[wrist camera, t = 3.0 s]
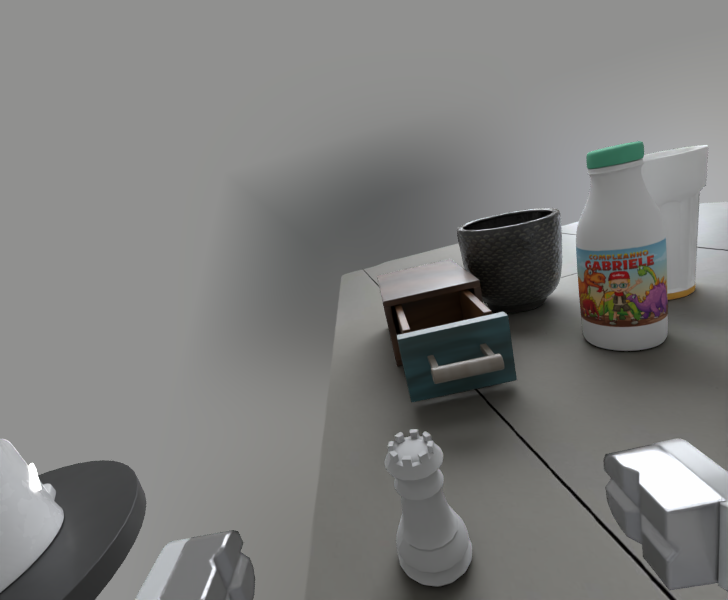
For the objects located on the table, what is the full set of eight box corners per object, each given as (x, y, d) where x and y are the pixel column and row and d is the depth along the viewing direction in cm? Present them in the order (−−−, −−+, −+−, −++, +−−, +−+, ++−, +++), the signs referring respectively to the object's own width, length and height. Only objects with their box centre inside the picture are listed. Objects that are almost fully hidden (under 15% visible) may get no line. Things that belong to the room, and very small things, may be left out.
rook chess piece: (417, 607, 21) (386, 486, 18) (388, 541, 25) (360, 436, 23) (489, 570, 22) (468, 451, 19) (450, 512, 26) (428, 410, 24)
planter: (519, 328, 50) (506, 230, 46) (451, 310, 62) (437, 231, 59) (590, 295, 55) (583, 204, 52) (514, 284, 68) (504, 210, 64)
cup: (588, 286, 58) (579, 168, 54) (669, 271, 57) (668, 148, 52) (629, 310, 48) (623, 166, 43) (731, 293, 46) (736, 140, 41)
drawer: (536, 403, 33) (527, 331, 31) (417, 428, 34) (402, 358, 32) (475, 331, 50) (467, 281, 48) (397, 348, 51) (387, 300, 49)
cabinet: (489, 346, 47) (479, 279, 45) (397, 366, 48) (382, 301, 46) (459, 310, 61) (450, 258, 59) (388, 326, 62) (376, 275, 60)
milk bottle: (577, 326, 47) (562, 156, 42) (652, 320, 44) (647, 137, 39) (590, 355, 40) (575, 156, 35) (681, 350, 37) (680, 132, 32)
